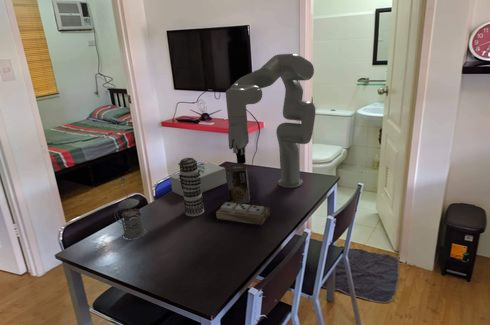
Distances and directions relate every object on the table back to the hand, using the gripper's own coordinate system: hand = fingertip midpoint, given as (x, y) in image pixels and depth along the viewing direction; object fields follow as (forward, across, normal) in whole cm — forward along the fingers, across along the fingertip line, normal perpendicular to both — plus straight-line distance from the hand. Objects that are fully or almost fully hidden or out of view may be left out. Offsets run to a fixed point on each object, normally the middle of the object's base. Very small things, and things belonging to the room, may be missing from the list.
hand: (241, 163), depth 145 cm
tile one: (+22, +3, -6) cm, 23 cm away
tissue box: (+24, -21, -36) cm, 48 cm away
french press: (+23, +29, -38) cm, 53 cm away
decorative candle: (+23, +5, -23) cm, 33 cm away
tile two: (+22, +3, +6) cm, 23 cm away
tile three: (+22, +3, 0) cm, 22 cm away
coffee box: (+23, -11, -8) cm, 27 cm away
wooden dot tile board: (+23, +3, 0) cm, 23 cm away
